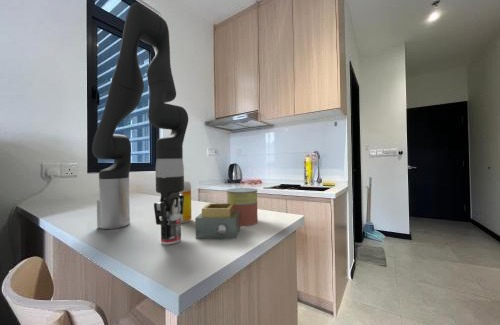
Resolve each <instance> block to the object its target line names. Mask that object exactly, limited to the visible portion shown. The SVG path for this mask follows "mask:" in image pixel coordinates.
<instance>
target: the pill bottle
mask: <svg viewBox="0 0 500 325" xmlns="http://www.w3.org/2000/svg"><path fill="white" fill-rule="evenodd" d="M177 212H178V206H176V207H174V214H173V216H172V217H171V222H170V225H171V237H170V238H169V239H162V229H161V228H160V243H161V244H162V245H165V246H167V245H174V244H177V243H180V242H181V240H182V223H181V216H180V214H178V213H177ZM166 213H169V212H166ZM167 218H168V216H167Z"/></svg>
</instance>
